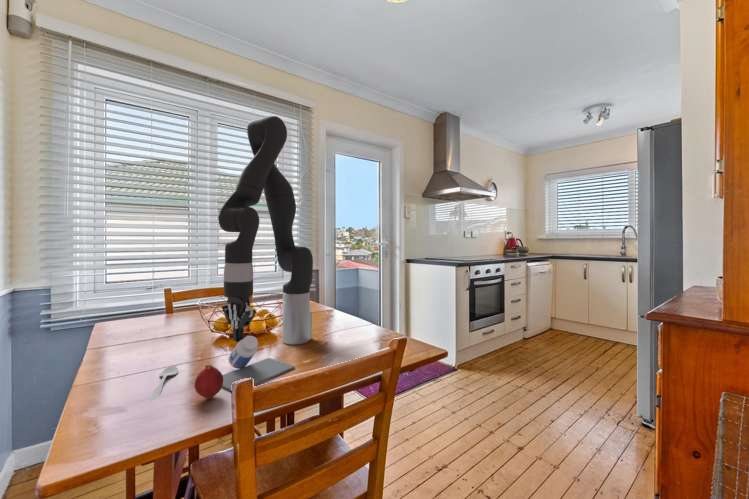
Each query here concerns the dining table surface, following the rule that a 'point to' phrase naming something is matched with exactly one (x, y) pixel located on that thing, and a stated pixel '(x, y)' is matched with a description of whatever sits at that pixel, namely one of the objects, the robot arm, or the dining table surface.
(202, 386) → the onion
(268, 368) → the mat
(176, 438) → the dining table surface
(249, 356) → the pill bottle
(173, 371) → the spoon
